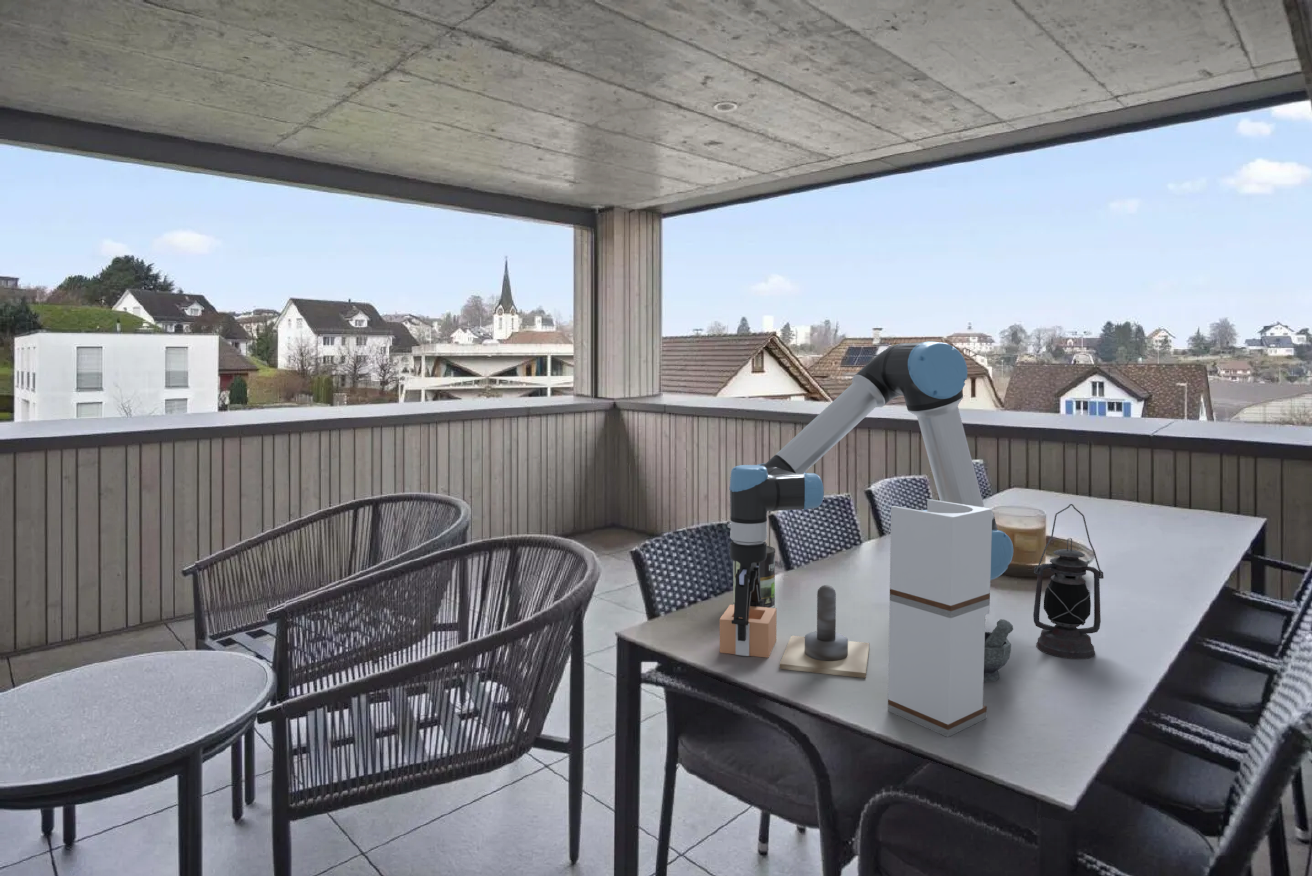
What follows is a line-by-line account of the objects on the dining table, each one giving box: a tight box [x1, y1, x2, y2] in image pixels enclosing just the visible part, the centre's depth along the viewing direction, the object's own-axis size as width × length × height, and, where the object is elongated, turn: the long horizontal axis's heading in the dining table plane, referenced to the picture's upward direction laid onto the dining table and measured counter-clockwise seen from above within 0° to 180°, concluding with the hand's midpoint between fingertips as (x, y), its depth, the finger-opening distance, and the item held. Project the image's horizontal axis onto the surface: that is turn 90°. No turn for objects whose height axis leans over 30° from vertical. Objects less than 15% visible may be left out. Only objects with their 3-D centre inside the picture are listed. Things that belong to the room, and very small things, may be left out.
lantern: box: [1032, 503, 1105, 660], centre depth 155 cm, size 12×11×30 cm
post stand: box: [779, 584, 870, 679], centre depth 152 cm, size 16×16×15 cm
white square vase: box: [887, 498, 993, 738], centre depth 126 cm, size 11×11×35 cm
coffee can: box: [732, 545, 776, 608], centre depth 186 cm, size 10×10×14 cm
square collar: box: [719, 603, 778, 658], centre depth 160 cm, size 10×10×7 cm
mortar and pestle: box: [983, 618, 1014, 683], centre depth 143 cm, size 11×9×12 cm
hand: (747, 645), depth 160 cm, fingers open, 10 cm apart
